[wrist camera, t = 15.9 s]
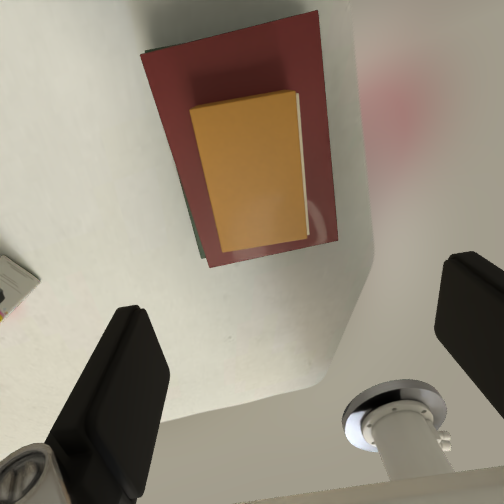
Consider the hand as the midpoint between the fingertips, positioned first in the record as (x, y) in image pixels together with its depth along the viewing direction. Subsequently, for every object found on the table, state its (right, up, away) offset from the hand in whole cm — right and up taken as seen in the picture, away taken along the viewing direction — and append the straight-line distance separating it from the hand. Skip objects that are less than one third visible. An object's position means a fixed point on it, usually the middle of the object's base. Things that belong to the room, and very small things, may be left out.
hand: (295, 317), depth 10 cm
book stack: (-2, +12, +20) cm, 24 cm away
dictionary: (-1, +9, +15) cm, 17 cm away
